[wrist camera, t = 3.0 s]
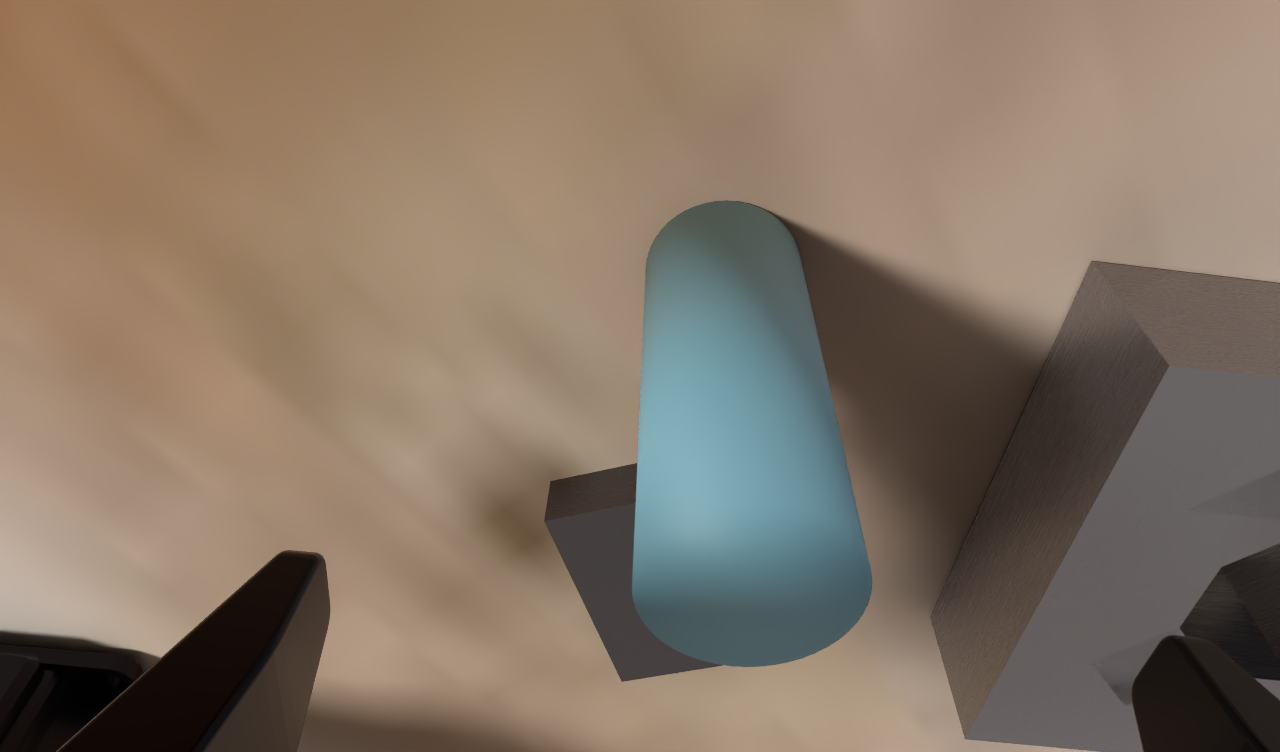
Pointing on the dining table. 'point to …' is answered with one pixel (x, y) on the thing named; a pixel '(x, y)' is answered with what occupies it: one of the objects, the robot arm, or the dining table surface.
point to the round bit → (740, 451)
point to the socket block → (1124, 512)
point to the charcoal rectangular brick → (609, 567)
